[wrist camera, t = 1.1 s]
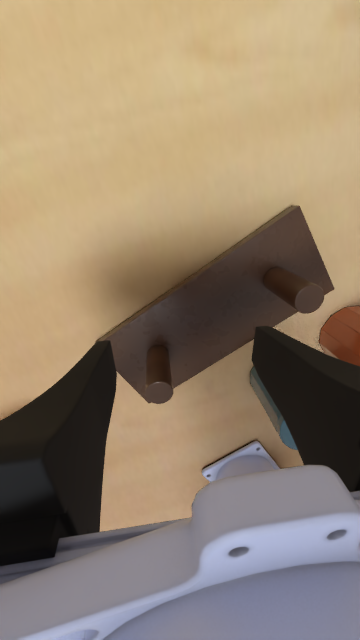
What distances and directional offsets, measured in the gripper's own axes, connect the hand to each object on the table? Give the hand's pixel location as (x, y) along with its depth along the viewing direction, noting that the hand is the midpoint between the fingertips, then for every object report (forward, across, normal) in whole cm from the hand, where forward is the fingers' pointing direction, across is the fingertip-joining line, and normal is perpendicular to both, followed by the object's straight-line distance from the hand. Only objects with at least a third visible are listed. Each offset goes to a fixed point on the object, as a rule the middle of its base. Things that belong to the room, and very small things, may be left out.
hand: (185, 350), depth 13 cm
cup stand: (+10, -4, +3) cm, 11 cm away
